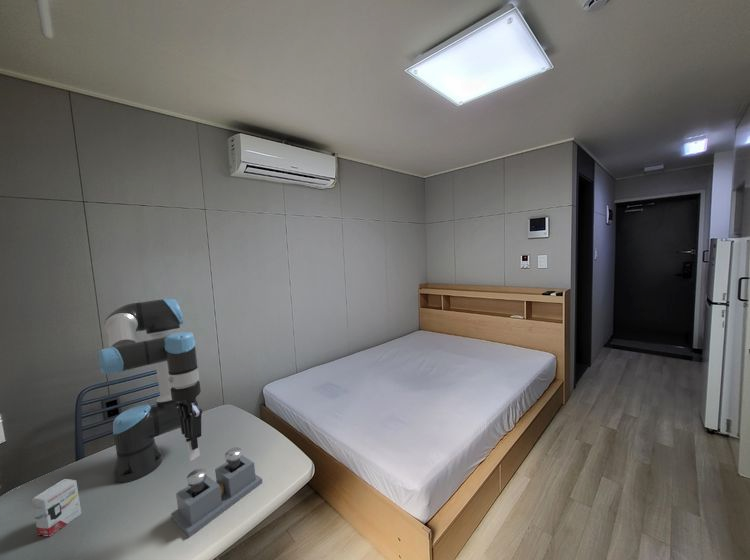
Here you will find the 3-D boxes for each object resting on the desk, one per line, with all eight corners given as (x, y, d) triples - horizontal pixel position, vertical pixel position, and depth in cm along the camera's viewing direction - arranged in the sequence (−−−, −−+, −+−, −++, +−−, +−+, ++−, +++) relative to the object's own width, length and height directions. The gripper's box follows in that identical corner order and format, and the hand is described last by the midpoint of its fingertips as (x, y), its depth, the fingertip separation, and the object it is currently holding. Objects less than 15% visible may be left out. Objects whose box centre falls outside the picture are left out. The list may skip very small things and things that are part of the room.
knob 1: (187, 500, 94) (184, 476, 93) (203, 489, 98) (200, 466, 97) (194, 507, 91) (191, 482, 90) (211, 495, 95) (208, 472, 94)
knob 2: (224, 475, 103) (222, 453, 103) (238, 466, 107) (236, 445, 107) (232, 481, 100) (230, 459, 100) (246, 472, 104) (243, 450, 104)
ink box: (49, 537, 89) (42, 501, 88) (37, 535, 90) (30, 499, 89) (82, 513, 97) (76, 479, 96) (70, 511, 98) (65, 477, 97)
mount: (171, 518, 93) (168, 494, 92) (243, 470, 113) (241, 450, 112) (189, 537, 86) (186, 512, 86) (262, 482, 106) (260, 461, 105)
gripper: (162, 384, 91) (171, 457, 93) (180, 393, 84) (191, 472, 86) (188, 375, 98) (197, 444, 99) (208, 383, 90) (217, 457, 92)
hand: (194, 457), depth 93 cm, fingers closed
